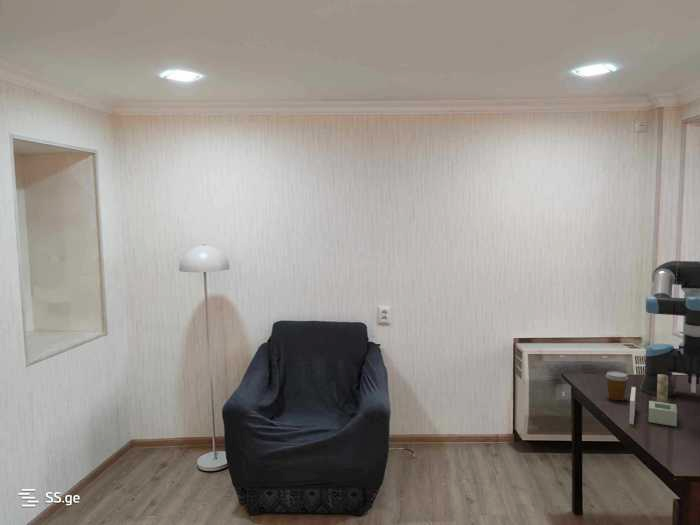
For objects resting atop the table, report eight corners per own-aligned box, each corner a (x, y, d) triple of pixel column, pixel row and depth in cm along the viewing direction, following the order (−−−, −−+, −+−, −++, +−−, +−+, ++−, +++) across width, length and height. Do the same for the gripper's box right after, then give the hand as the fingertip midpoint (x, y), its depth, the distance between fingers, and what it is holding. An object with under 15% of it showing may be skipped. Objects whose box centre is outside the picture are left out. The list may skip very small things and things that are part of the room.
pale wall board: (635, 408, 235) (635, 387, 235) (633, 424, 218) (634, 401, 217) (631, 408, 236) (631, 386, 235) (629, 423, 219) (630, 400, 218)
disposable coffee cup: (625, 396, 252) (626, 371, 251) (629, 402, 243) (630, 377, 242) (604, 394, 255) (604, 370, 254) (606, 400, 246) (607, 375, 245)
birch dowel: (662, 408, 235) (663, 374, 234) (669, 412, 231) (670, 376, 230) (654, 409, 235) (655, 374, 233) (660, 412, 231) (662, 377, 229)
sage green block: (675, 418, 223) (676, 404, 223) (676, 426, 215) (677, 412, 214) (648, 414, 228) (649, 400, 228) (648, 422, 220) (649, 408, 219)
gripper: (714, 334, 213) (711, 391, 215) (676, 331, 220) (674, 386, 221) (715, 338, 207) (713, 396, 208) (677, 334, 213) (674, 391, 215)
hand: (693, 391), depth 215 cm, fingers closed
